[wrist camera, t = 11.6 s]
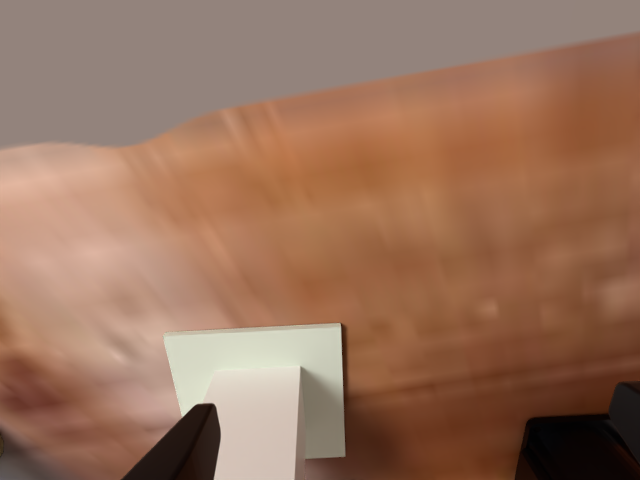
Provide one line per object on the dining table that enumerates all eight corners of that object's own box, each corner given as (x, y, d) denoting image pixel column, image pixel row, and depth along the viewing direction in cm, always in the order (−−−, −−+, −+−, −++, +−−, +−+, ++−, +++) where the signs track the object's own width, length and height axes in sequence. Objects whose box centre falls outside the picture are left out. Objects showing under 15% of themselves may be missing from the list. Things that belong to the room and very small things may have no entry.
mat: (340, 322, 20) (341, 326, 19) (344, 451, 23) (345, 456, 23) (165, 332, 20) (162, 336, 19) (195, 459, 23) (193, 464, 23)
